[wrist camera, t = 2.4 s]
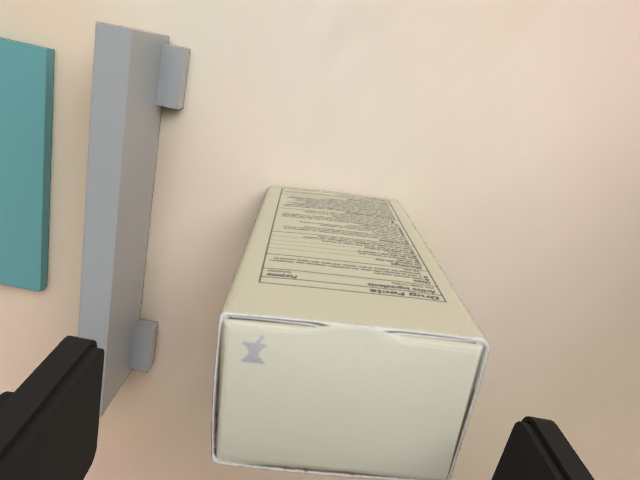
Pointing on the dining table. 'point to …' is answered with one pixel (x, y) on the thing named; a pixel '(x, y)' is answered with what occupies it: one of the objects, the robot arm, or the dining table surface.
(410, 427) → the skincare box
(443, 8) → the dining table surface
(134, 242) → the grey drawer handle
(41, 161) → the pad
